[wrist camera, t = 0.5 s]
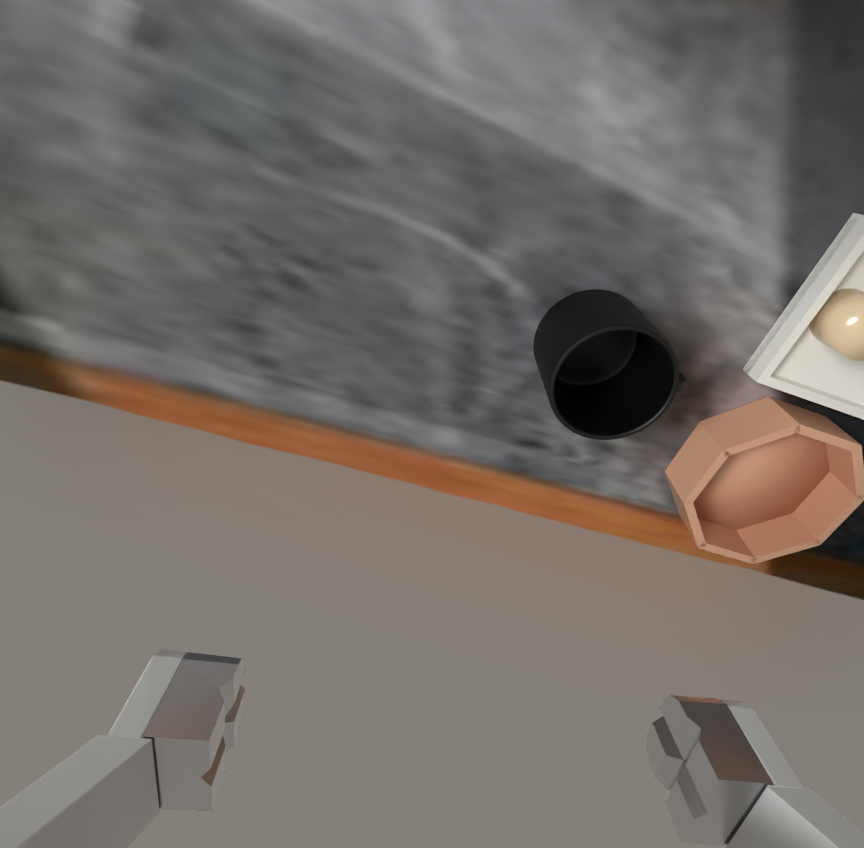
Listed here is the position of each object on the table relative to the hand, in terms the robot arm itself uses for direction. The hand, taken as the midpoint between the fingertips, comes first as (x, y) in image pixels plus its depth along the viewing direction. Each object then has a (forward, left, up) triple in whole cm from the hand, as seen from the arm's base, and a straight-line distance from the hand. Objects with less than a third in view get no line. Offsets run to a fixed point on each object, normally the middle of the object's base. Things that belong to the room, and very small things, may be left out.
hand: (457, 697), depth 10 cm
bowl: (+10, +35, -38) cm, 53 cm away
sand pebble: (-6, +32, -37) cm, 49 cm away
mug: (+3, +15, -38) cm, 41 cm away
